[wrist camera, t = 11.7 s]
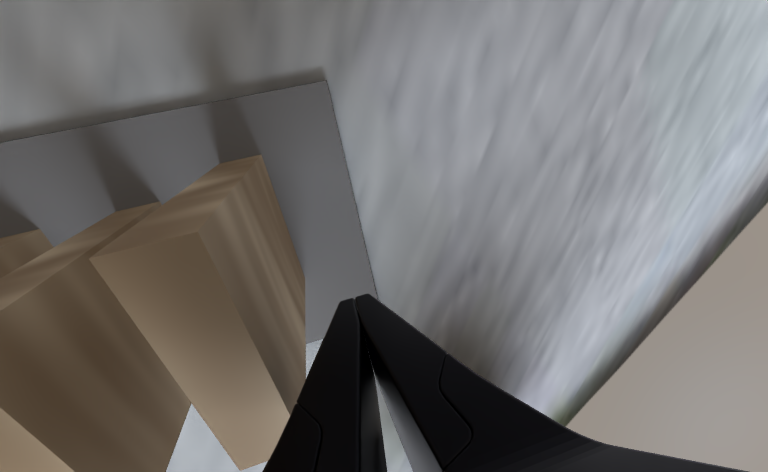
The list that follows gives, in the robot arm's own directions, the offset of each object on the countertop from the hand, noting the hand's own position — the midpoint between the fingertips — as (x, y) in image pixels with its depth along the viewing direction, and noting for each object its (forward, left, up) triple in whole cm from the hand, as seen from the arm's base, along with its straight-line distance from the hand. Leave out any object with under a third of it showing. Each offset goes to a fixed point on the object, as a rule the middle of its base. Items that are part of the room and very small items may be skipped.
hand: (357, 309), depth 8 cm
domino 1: (+7, 0, -6) cm, 9 cm away
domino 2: (+3, -1, -6) cm, 7 cm away
